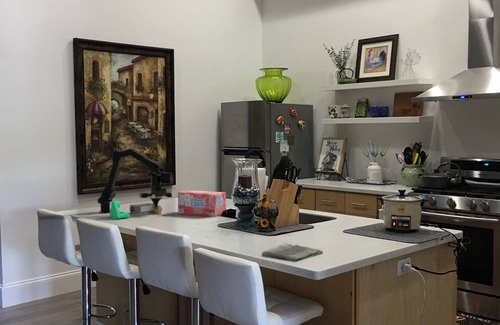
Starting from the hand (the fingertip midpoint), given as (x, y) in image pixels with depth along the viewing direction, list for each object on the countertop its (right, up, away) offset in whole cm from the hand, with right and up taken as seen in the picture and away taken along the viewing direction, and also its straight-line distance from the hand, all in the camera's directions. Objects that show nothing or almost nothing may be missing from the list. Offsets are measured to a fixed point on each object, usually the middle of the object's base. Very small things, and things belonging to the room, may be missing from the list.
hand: (155, 209), depth 341 cm
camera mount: (-19, -4, -12) cm, 22 cm away
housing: (-9, -3, +7) cm, 12 cm away
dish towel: (+74, -10, -113) cm, 135 cm away
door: (+1, -2, +3) cm, 4 cm away
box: (+29, -3, -5) cm, 29 cm away
